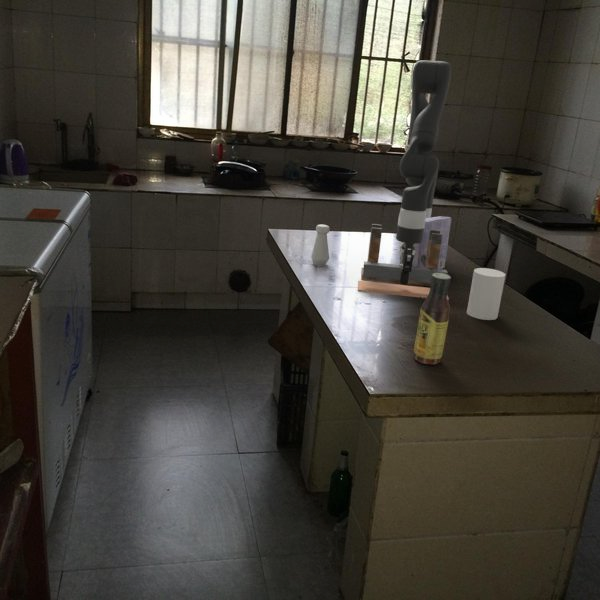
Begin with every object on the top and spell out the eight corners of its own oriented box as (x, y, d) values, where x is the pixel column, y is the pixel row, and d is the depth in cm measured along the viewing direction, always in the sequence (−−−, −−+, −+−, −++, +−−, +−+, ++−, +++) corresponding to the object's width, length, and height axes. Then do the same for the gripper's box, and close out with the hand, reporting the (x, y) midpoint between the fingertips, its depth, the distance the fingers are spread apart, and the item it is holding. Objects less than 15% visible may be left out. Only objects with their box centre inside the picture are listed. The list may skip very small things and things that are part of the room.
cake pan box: (434, 264, 223) (441, 213, 218) (447, 268, 220) (455, 216, 214) (403, 273, 209) (411, 219, 204) (417, 277, 206) (425, 222, 200)
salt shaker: (329, 262, 214) (332, 224, 210) (328, 267, 209) (331, 228, 205) (311, 261, 215) (314, 222, 210) (309, 265, 209) (313, 226, 205)
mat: (444, 290, 195) (444, 289, 194) (448, 300, 186) (448, 298, 186) (358, 282, 196) (358, 280, 196) (358, 291, 188) (358, 289, 187)
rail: (444, 281, 191) (446, 269, 189) (445, 284, 188) (447, 272, 186) (362, 273, 192) (364, 261, 191) (362, 276, 189) (364, 264, 188)
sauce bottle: (409, 354, 146) (422, 269, 140) (436, 355, 147) (450, 271, 141) (417, 366, 140) (430, 278, 134) (445, 367, 141) (459, 280, 134)
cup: (498, 312, 179) (506, 271, 175) (496, 322, 172) (504, 278, 168) (468, 307, 181) (475, 266, 178) (465, 316, 174) (472, 273, 170)
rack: (436, 279, 205) (444, 230, 200) (439, 287, 198) (447, 236, 193) (361, 272, 207) (366, 222, 202) (361, 279, 199) (367, 228, 194)
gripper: (426, 231, 178) (418, 291, 183) (422, 221, 191) (414, 277, 197) (399, 228, 178) (391, 288, 184) (396, 218, 192) (389, 274, 197)
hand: (403, 282), depth 190 cm, fingers closed on rail, 3 cm apart
